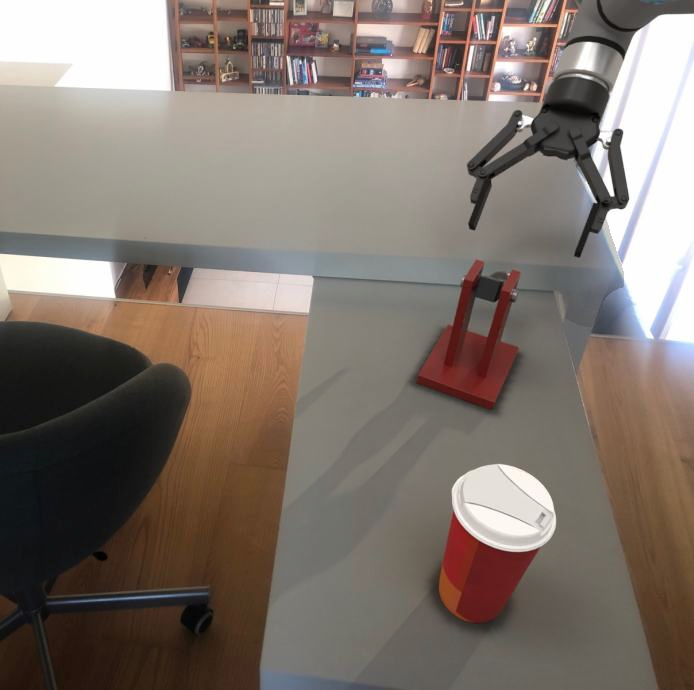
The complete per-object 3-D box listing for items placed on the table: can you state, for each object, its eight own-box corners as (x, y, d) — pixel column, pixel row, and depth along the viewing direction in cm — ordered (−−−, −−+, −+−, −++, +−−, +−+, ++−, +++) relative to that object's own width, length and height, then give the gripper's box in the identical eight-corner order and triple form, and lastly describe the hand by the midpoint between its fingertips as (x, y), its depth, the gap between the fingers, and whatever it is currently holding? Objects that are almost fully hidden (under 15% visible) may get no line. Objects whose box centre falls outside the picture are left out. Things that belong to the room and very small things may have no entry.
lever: (483, 294, 89) (493, 267, 88) (512, 303, 87) (522, 275, 87) (465, 299, 76) (476, 268, 75) (498, 309, 75) (509, 277, 74)
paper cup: (531, 591, 62) (578, 495, 53) (488, 654, 58) (532, 561, 49) (453, 540, 66) (484, 442, 57) (408, 594, 62) (434, 499, 53)
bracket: (446, 331, 90) (467, 240, 81) (516, 354, 86) (547, 261, 77) (416, 382, 82) (435, 289, 73) (491, 410, 79) (522, 315, 70)
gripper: (680, 119, 89) (621, 273, 89) (486, 85, 99) (434, 224, 99) (693, 91, 82) (630, 259, 82) (483, 58, 92) (427, 208, 92)
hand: (522, 240), depth 91 cm, fingers open, 13 cm apart
